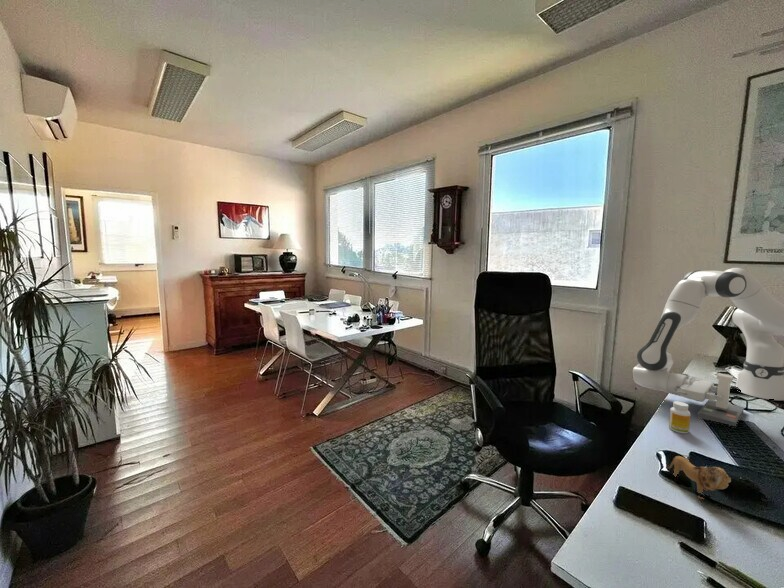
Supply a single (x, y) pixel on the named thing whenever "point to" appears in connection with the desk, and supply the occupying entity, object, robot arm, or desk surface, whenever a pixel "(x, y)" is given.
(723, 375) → the lever
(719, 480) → the lion figurine
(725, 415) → the breaker panel
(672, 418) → the supplement bottle
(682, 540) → the desk surface
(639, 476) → the desk surface
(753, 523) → the desk surface
